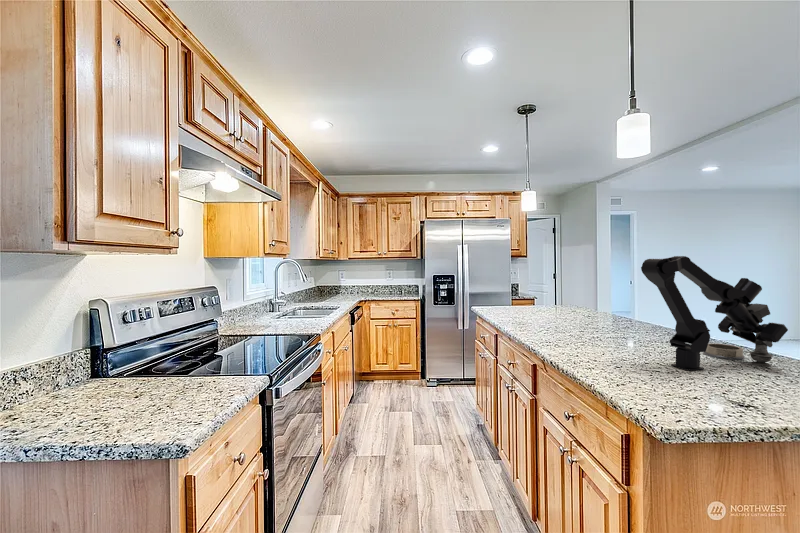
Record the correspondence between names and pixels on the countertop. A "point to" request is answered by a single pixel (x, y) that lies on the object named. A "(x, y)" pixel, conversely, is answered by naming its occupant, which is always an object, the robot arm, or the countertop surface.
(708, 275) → the robot arm
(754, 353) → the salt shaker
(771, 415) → the countertop surface
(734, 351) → the ring holder
